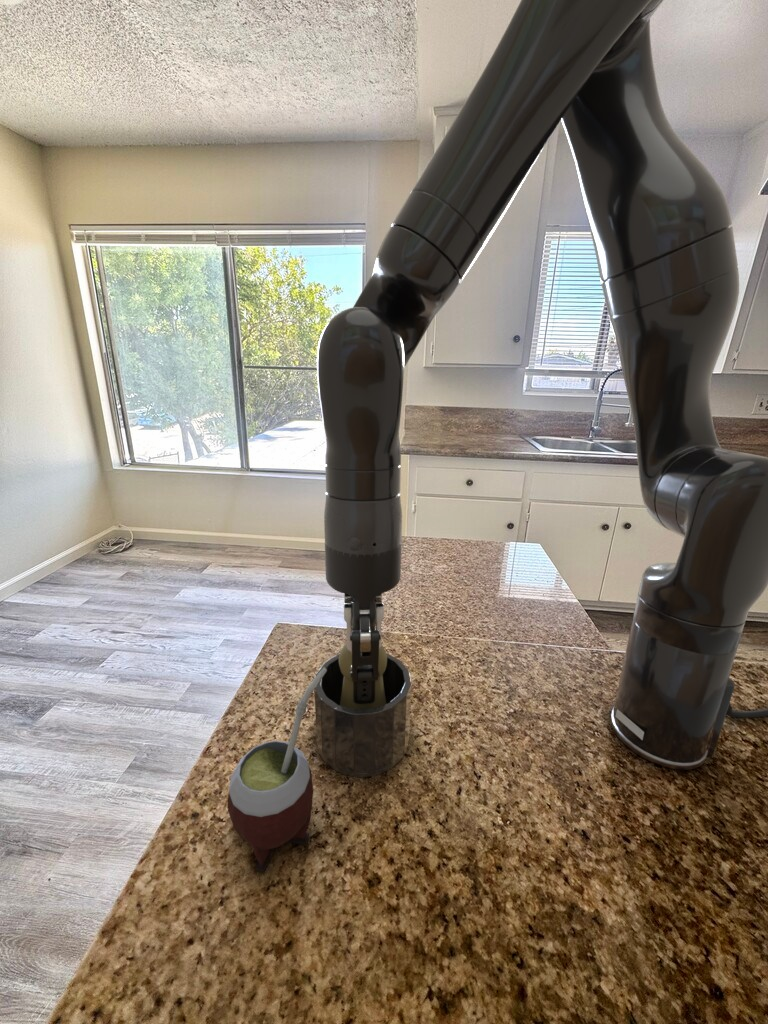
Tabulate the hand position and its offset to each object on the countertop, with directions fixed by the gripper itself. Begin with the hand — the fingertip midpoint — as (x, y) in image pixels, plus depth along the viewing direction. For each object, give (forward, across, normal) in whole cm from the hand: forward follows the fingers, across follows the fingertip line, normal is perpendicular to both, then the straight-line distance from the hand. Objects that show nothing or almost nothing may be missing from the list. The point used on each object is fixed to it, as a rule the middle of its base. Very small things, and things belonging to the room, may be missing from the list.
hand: (363, 681), depth 46 cm
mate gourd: (+8, -10, +8) cm, 15 cm away
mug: (+8, +2, 0) cm, 8 cm away
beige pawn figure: (+7, 0, 0) cm, 7 cm away
